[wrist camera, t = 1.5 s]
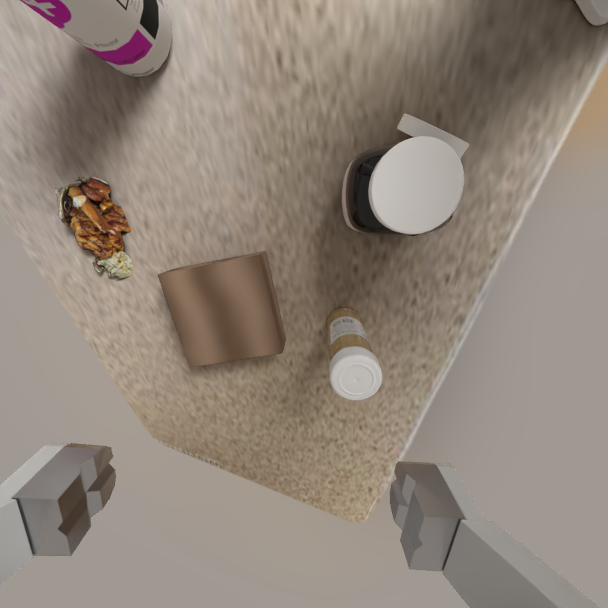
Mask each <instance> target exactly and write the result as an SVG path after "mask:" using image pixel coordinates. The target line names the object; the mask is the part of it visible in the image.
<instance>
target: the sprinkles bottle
mask: <svg viewBox="0 0 608 608" xmlns="http://www.w3.org/2000/svg"><path fill="white" fill-rule="evenodd" d="M327 329H328V347H329V354H330V365H329V377H330V383H331V386H332V388H333V389H334V391H335V392H336V393H337V394H338V395H340V396H341V397H343V398H345V399H348V400H354V401H356V400H364V399H367V398H369V397H371V396H372V395H374V394H375V393H376V392H377V391H378V389H379V388H380V386H381V383H382V371H381V368H380V365H379V362H378V360H377V358H376V357H375V355H374V354H373V352H372V349H371V346H370V343H369V341H368V338H367V335H366V333H365V330H364V328H363V326H362V324H361V319H360V317H359V315H358V314H357V313H356V312H355V311H354V310H351V309H349V308H340V309H337V310H335V311H333V312H332V313H331V314H330V315H329V317H328V319H327Z"/></svg>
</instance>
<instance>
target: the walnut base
mask: <svg viewBox="0 0 608 608" xmlns="http://www.w3.org/2000/svg"><path fill="white" fill-rule="evenodd" d="M158 277H159V280H160V283H161V286H162V289H163V292H164V295H165V298H166V300H167V303H168V306H169V309H170V312H171V315H172V318H173V321H174V324H175V326H176V329H177V332H178V335H179V338H180V341H181V344H182V347H183V349H184V352H185V355H186V358H187V361H188V364H189V367H194V366H201V365H208V364H214V363H221V362H227V361H234V360H241V359H247V358H254V357H260V356H267V355H274V354H280V353H282V352H283V349H284V345H285V342H286V337H285V333H284V328H283V324H282V320H281V315H280V311H279V307H278V302H277V298H276V294H275V289H274V285H273V281H272V276H271V272H270V268H269V263H268V259H267V255H266V251H263V252H258V253H253V254H248V255H243V256H238V257H232V258H227V259H222V260H217V261H212V262H207V263H201V264H196V265H191V266H186V267H181V268H176V269H173V270H170V271H167V272H164V273H161V274H159V275H158Z"/></svg>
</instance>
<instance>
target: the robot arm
mask: <svg viewBox="0 0 608 608" xmlns="http://www.w3.org/2000/svg"><path fill="white" fill-rule="evenodd" d="M575 1H576V2H577V4H578V6H579V8H580V10H581V11H582V13H583V15H584V16H585V17H586V19H587V20H588V21H589V22H590V23H591V24H593V25H597V26H598V25H603V24H605V23H607V22H608V0H575ZM112 457H113V454H112V450H111V447H107V446H97V445H85V444H72V443H71V444H69V443H56V442H52V443H50V444H47V445H45V446H44V447H43V448H41V449H40V450H39V451H38V452H37V453H36V454H35V455H34V456H33V457H31V458H30V459H29V460H28V461H27V462H26V463H25V464H24V465H22V466H21V467H20V468H19V469H18V470H17V471H16V472H15V473H14V474H13V475H11V476H10V477H9V478H8V479H7V480H6V481H4V482H3V483H2V484H1V485H0V584H2V583H3V582H4V581H6V580H7V579H8V578H9V577H10V576H12V575H13V574H14V573H15V572H17V571H18V570H19V569H20V568H22V567H23V566H24V565H25V564H27V563H28V562H29V561H30V560H32V559H33V556H71V555H72V554H73V552H74V551H75V549H76V548H77V546H78V545H79V543H80V542H81V540H82V539H83V537H84V536H85V535H86V533H87V531H88V530H89V528H90V527H91V517H92V516H93V515H95V514H96V513H98V512H99V511H100V510H102V509H103V508H104V506H105V505H106V503H107V501H108V500H109V499H110V496H111V494H112V491H113V489H114V486H115V479H116V473H115V469H114V468H113V467H112V466H111V465H110V464H109V462H110V460H111V459H112ZM394 472H395V475H396V478H397V479H396V480H395V481H394V482H393V483H392V484H391V490H390V504H391V510H392V514H393V518H394V521H395V523H396V524H397V525H398V526H399V527H400V528H401V529H402V530H403V531H402V535H401V539H400V541H401V544H402V547H403V550H404V553H405V556H406V560H407V562H408V566H409V569H416V570H428V571H442V572H443V575H444V576H445V577H446V578H447V580H448V581H449V582H450V583H451V585H452V586H453V587H454V588H455V590H456V591H457V592H458V594H459V595H460V596H461V597H462V599H463V600H464V601H465V602H466V603H467V605H468V606H469V607H470V608H601V607H599V606H598V605H597V604H596V603H594V602H593V601H592V600H591V599H589V598H588V597H587V596H586V595H584V594H583V593H582V592H581V591H580V590H578V589H577V588H576V587H575V586H573V585H572V584H571V583H570V582H568V581H567V580H566V579H564V578H563V577H562V576H561V575H560V574H558V573H557V572H556V571H555V570H553V569H552V568H551V567H549V566H548V565H547V564H546V563H544V562H543V561H542V560H541V559H540V558H538V557H537V556H536V555H535V554H534V553H532V552H531V551H530V550H528V549H527V548H526V547H525V546H524V545H522V544H521V543H520V542H519V541H517V540H516V539H515V538H514V537H512V536H511V535H510V534H509V533H507V532H506V531H505V530H503V529H502V528H501V527H500V526H499V525H497V524H496V523H495V522H493V521H487V519H486V518H485V516H484V514H483V513H482V511H481V509H480V508H479V506H478V505H477V503H476V501H475V500H474V498H473V496H472V495H471V494H470V492H469V490H468V488H467V487H466V485H465V484H464V482H463V481H462V479H461V477H460V476H459V474H458V472H457V471H456V470H455V468H454V466H452V465H451V464H449V463H427V462H426V463H425V462H402V461H398V463H397V464H396V467H395V471H394Z"/></svg>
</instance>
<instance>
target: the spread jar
mask: <svg viewBox="0 0 608 608" xmlns="http://www.w3.org/2000/svg"><path fill="white" fill-rule="evenodd" d="M397 129H398V130H400V131H402V132H404V133H406V134H408V135H410V136H412V137H413V138H410V139H407V140H404V141H402V142H400V143H396V144H391V145H386V146H382V147H378V148H375V149H372V150H369V151H367V152H365V153H362V154H360V155H359V156H357V157H356V158H355V159H354V160H353V161H352V162H351V163H350V165H349V167H348V168H347V170H346V173H345V176H344V181H343V187H342V208H343V215H344V219H345V221H346V223H347V225H348V226H349V227H350V228H351V229H353V230H356V231H358V232H362V233H367V234H373V235H382V236H415V235H418V234H423V233H428V232H432V231H435V230H437V229H440V228H442V227H443V226H445V225H446V224H447V223H448V222H449V220H450V219H451V218H452V215H453V213H454V210H455V209H456V207H457V206H458V204H459V201H460V199H461V196H462V193H463V188H464V171H463V166H462V163H461V161H460V159H461V157H462V156H463V154H464V153H465V151H466V149H467V148H468V146H469V145H470V144H468V143H467V142H465V141H463V140H461V139H459V138H457V137H455V136H453V135H451V134H449V133H447V132H445V131H443V130H441V129H439V128H437V127H435V126H433V125H431V124H429V123H426V122H424V121H422V120H420V119H418V118H415V117H413V116H411V115H408V114H405V113H404V115H403V117H402V119H401V121H400V123H399V125H398V127H397Z"/></svg>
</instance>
